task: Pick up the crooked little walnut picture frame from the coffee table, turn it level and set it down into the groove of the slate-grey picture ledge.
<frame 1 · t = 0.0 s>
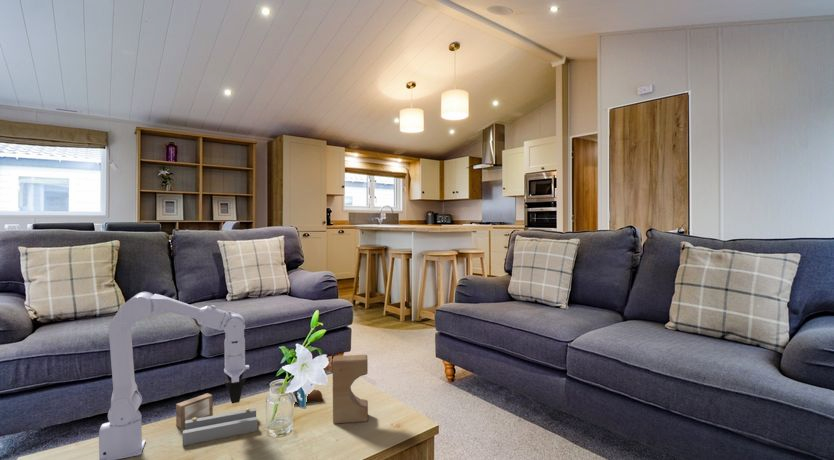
hand: (235, 397, 125), 10 cm above the table, fingers open, 7 cm apart
sunglasses case: (296, 401, 147), on the table
picture ledge: (221, 431, 125), on the table
decorative block: (350, 419, 132), on the table
walnut frame: (194, 421, 132), on the table
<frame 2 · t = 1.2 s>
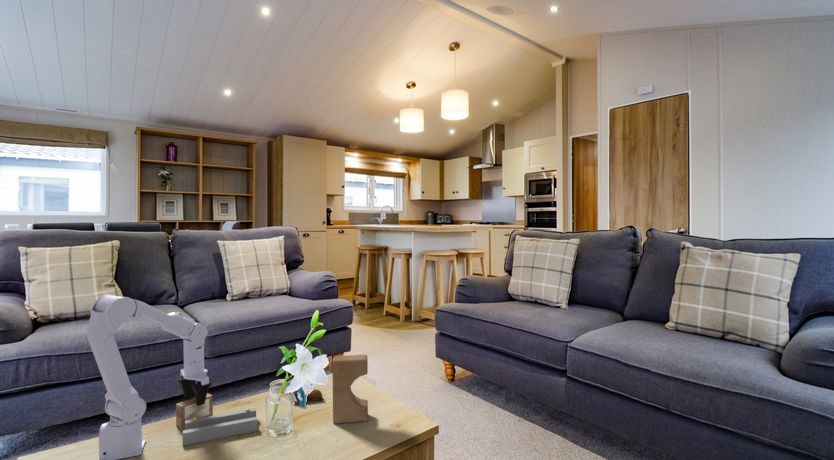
hand: (194, 401, 132), 6 cm above the table, fingers open, 7 cm apart
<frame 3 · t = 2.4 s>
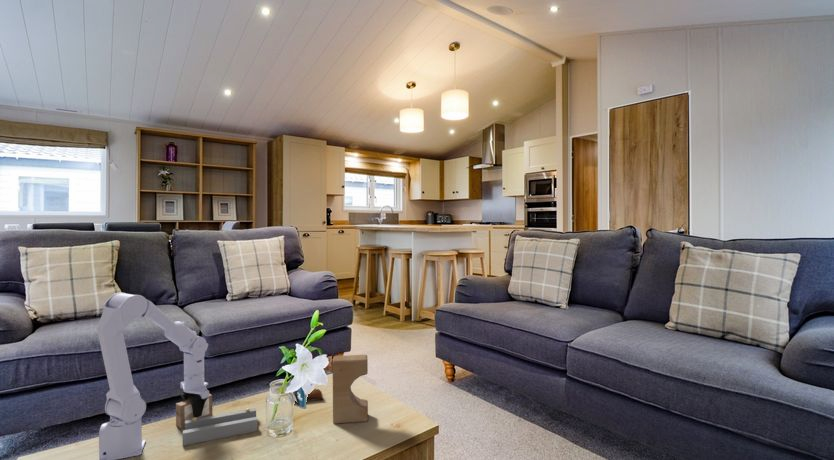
hand: (194, 414, 132), 2 cm above the table, fingers closed on walnut frame, 3 cm apart
walnut frame: (194, 420, 132), on the table, touching gripper
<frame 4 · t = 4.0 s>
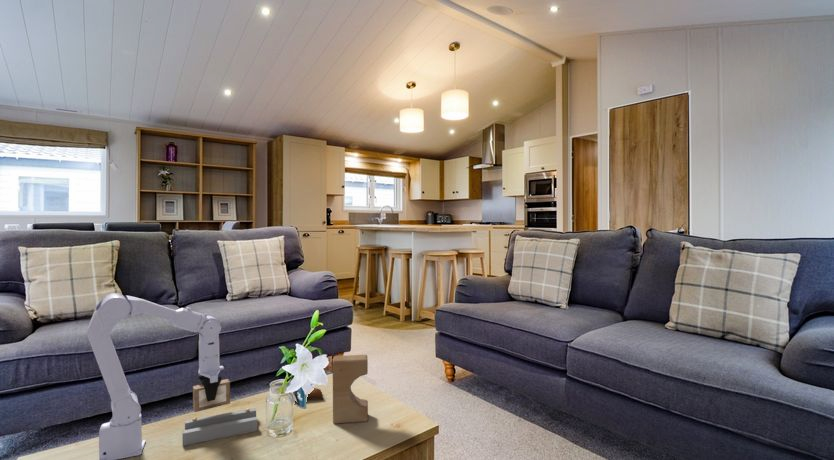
hand: (210, 398, 128), 9 cm above the table, fingers closed on walnut frame, 3 cm apart
walnut frame: (211, 406, 128), point 6 cm above the table, touching gripper
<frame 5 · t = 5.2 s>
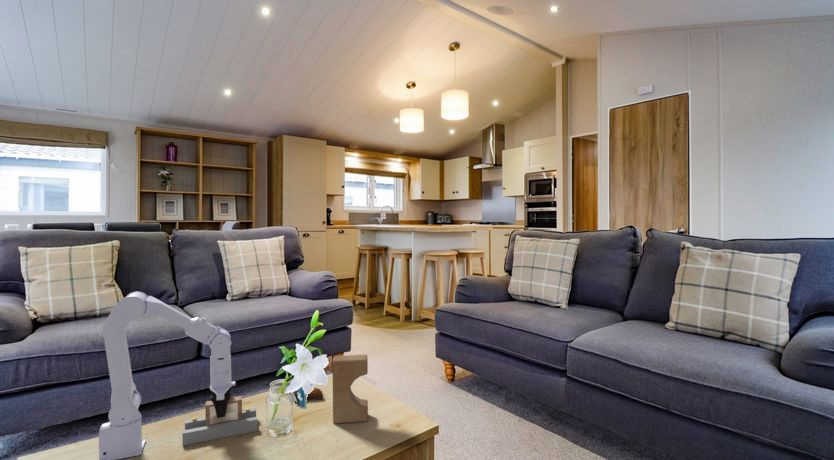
hand: (221, 414, 125), 5 cm above the table, fingers closed on walnut frame, 3 cm apart
walnut frame: (224, 423, 125), point 2 cm above the table, touching gripper
when the fingers open (4 cm above the table, at t = 5.8 s): walnut frame stays where it is, resting on picture ledge.
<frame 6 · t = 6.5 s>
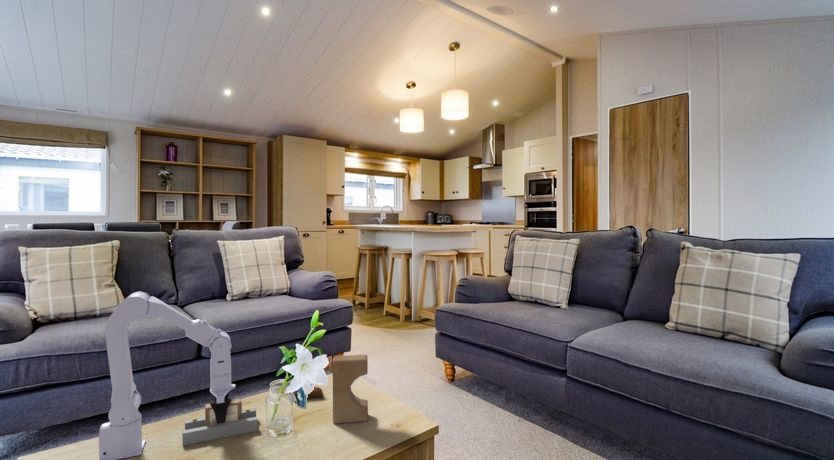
hand: (221, 417, 125), 4 cm above the table, fingers open, 7 cm apart
walnut frame: (224, 425, 125), point 1 cm above the table, touching picture ledge
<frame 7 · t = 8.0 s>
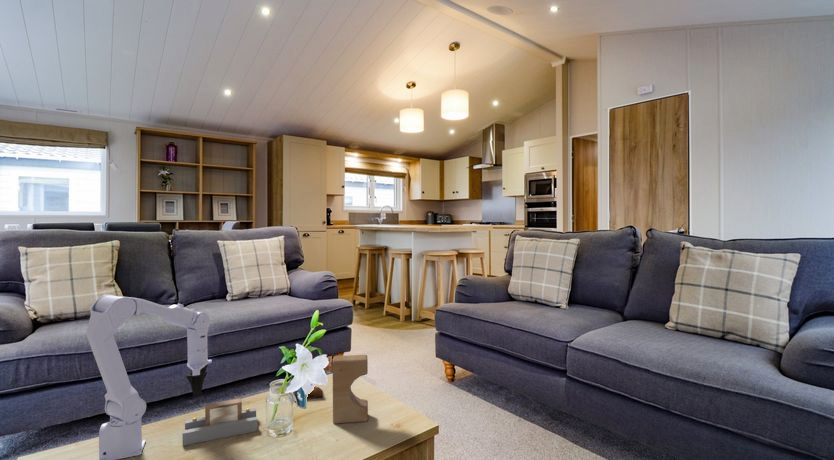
hand: (198, 390, 133), 9 cm above the table, fingers open, 7 cm apart
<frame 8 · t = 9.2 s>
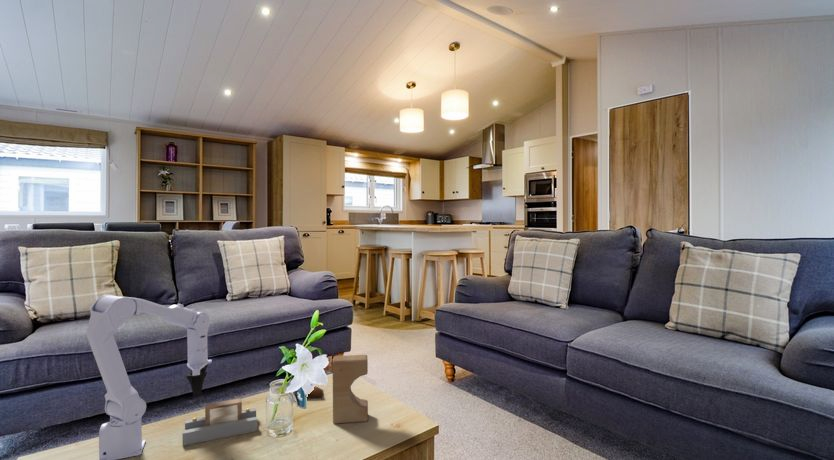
hand: (198, 390, 133), 9 cm above the table, fingers open, 7 cm apart
at the end: walnut frame inside the target area on the picture ledge (0.7 cm from its centre), point 1.5 cm above the picture ledge's base; walnut frame tilted 0°; the gripper is holding nothing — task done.
